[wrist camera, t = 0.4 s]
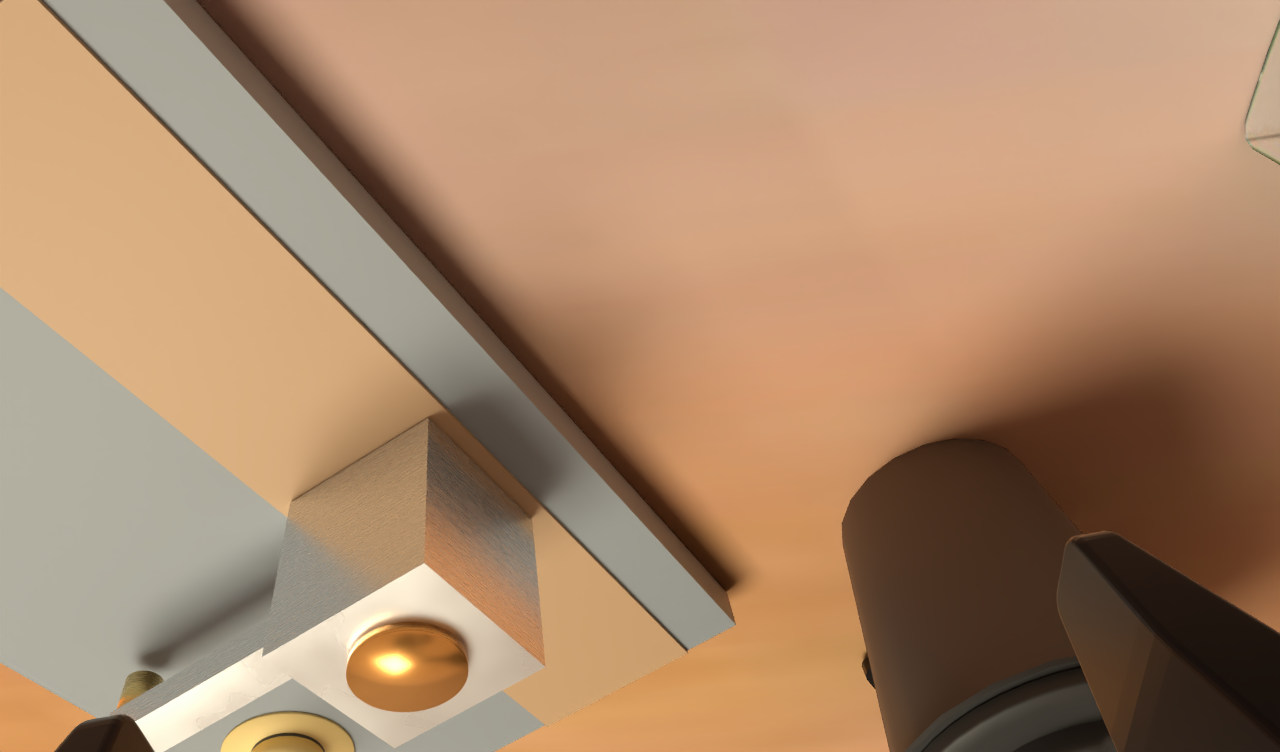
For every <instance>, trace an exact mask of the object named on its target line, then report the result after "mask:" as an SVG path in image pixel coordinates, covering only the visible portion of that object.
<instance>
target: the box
mask: <svg viewBox="0 0 1280 752" xmlns="http://www.w3.org/2000/svg"><path fill="white" fill-rule="evenodd" d="M1245 139H1246V140H1247V142H1248V143H1249V144H1250V146H1251V147H1252V149H1254V150H1255V151H1257V152H1259V153H1260V154H1262V155H1264V156H1266V157H1267V158H1269V159H1271V160H1272V161H1274V162H1276V163H1277V164H1279V165H1280V21H1279V23H1278V26H1277V29H1276V32H1275V34H1274V37H1273V40H1272V42H1271V45H1270V48H1269V50H1268V53H1267V56H1266V59H1265V62H1264V65H1263V68H1262V71H1261V74H1260V77H1259V80H1258V83H1257V86H1256V89H1255V92H1254V95H1253V98H1252V101H1251V105H1250V108H1249V111H1248V114H1247V118H1246V121H1245Z"/></svg>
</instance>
